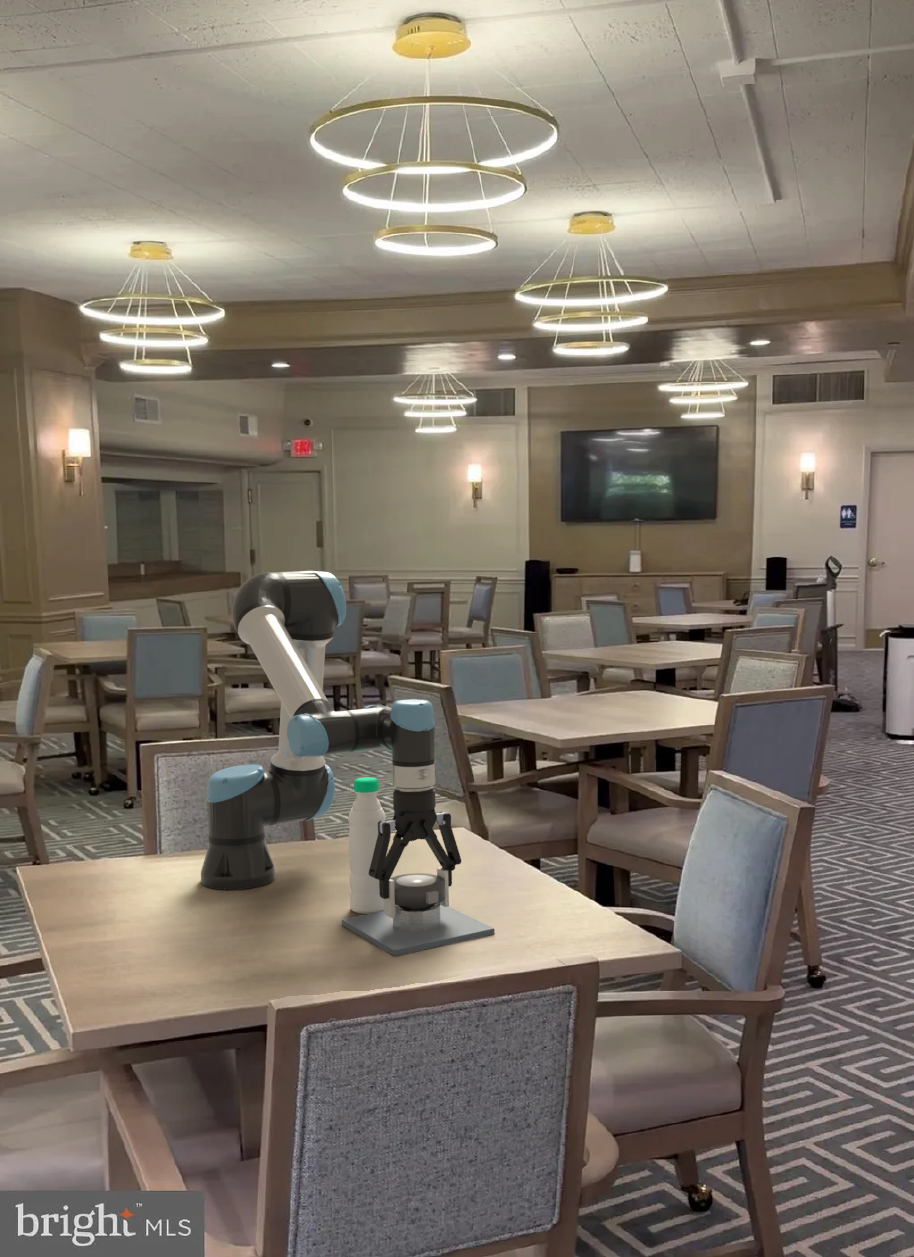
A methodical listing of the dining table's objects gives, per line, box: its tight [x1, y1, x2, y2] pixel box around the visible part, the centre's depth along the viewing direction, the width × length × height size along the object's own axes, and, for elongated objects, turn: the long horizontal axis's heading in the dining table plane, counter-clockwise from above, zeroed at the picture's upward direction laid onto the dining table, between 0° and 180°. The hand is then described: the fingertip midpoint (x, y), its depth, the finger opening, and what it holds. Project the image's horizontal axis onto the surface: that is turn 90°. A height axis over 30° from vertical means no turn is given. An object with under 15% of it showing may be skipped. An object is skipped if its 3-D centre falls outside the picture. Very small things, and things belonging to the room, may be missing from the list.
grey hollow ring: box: [393, 903, 440, 932], centre depth 203 cm, size 8×8×4 cm
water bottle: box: [347, 776, 387, 915], centre depth 215 cm, size 7×7×25 cm
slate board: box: [341, 905, 495, 957], centre depth 203 cm, size 20×20×1 cm
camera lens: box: [390, 872, 445, 910], centre depth 203 cm, size 12×10×6 cm
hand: (416, 910), depth 203 cm, fingers closed on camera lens, 10 cm apart
